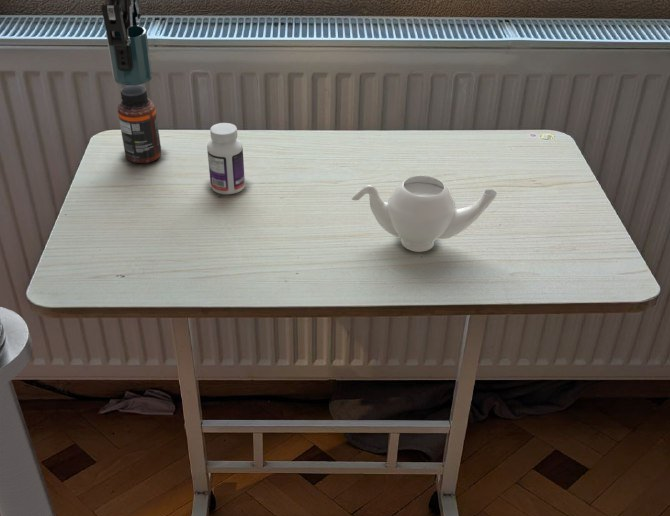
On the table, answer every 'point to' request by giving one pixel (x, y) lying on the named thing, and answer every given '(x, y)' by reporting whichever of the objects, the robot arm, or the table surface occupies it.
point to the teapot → (423, 211)
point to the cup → (139, 56)
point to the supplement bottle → (138, 125)
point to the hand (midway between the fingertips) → (129, 61)
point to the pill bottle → (225, 159)
